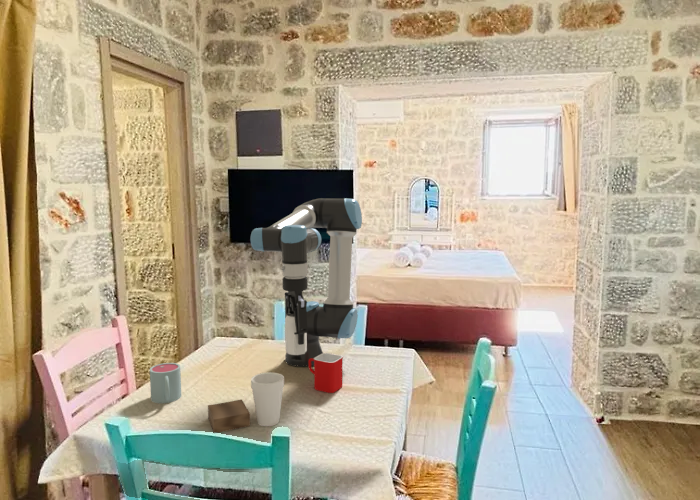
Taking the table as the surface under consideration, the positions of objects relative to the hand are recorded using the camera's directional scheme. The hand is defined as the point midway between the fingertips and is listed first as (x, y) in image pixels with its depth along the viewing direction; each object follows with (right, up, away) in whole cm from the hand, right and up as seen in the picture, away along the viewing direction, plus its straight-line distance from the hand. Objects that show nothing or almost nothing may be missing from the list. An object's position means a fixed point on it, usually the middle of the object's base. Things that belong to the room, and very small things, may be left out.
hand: (296, 350), depth 151 cm
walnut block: (-19, -19, -8) cm, 28 cm away
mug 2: (+7, -16, +18) cm, 26 cm away
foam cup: (-7, -19, -7) cm, 22 cm away
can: (0, -1, 0) cm, 1 cm away
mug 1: (-43, -18, +7) cm, 47 cm away
